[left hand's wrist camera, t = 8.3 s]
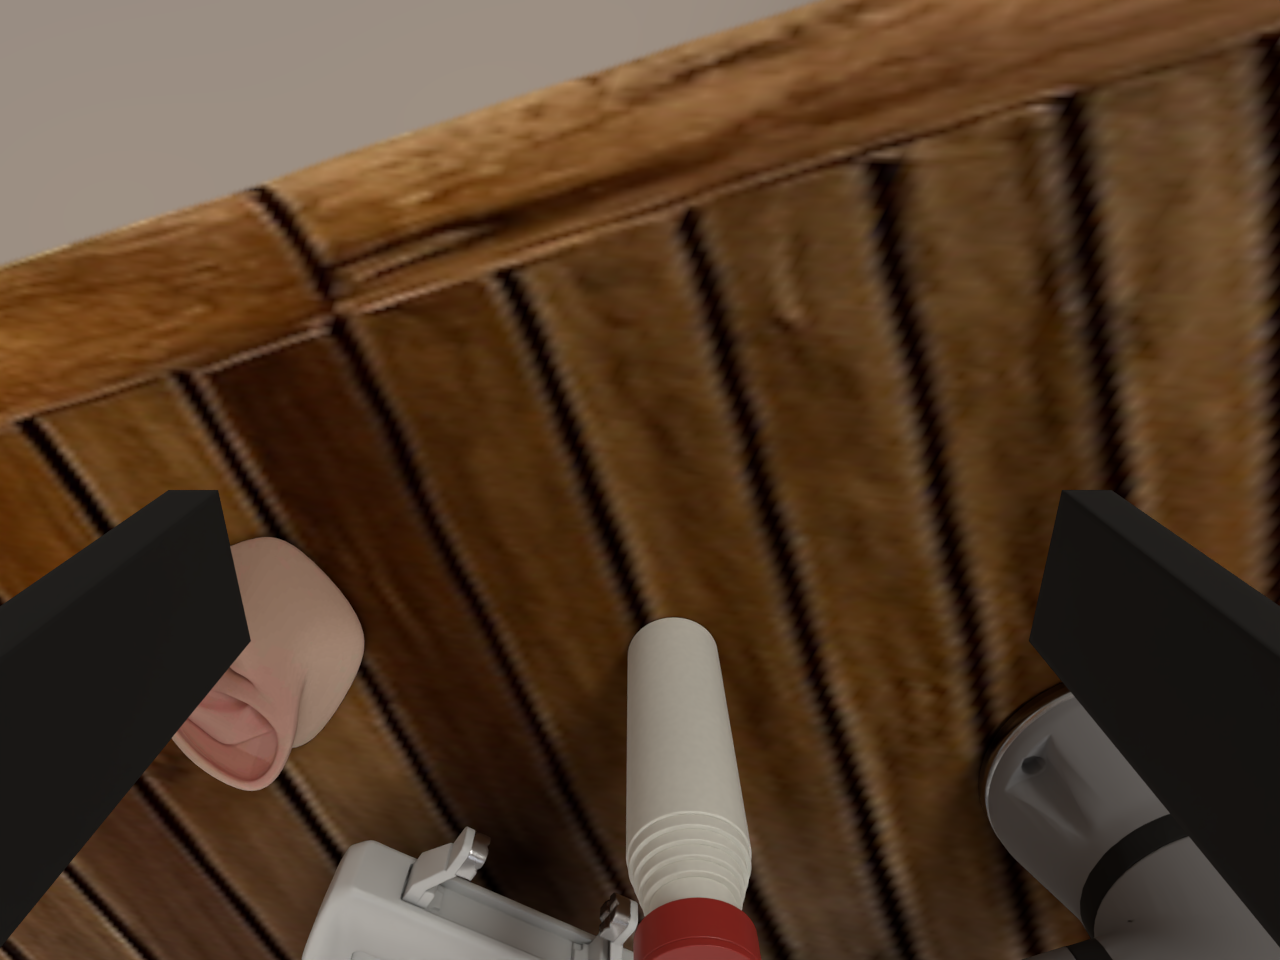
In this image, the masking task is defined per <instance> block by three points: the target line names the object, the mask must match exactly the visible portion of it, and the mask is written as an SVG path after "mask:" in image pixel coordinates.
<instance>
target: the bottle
mask: <svg viewBox="0 0 1280 960" xmlns="http://www.w3.org/2000/svg"><path fill="white" fill-rule="evenodd" d="M751 857H752V854H751V845H750V839H749V833H748V828H747V822H746V816H745V810H744V804H743V798H742V792H741V786H740V780H739V774H738V769H737V763H736V757H735V751H734V745H733V739H732V733H731V727H730V721H729V716H728V710H727V704H726V698H725V692H724V686H723V680H722V674H721V668H720V662H719V657H718V651H717V646H716V643H715V641H714V639H713V637H712V636H711V634H710V633H709V632H708V631H707V630H706V629H705V628H704V627H702V626H701V625H700V624H698V623H696V622H694V621H691V620H688V619H684V618H675V617H672V618H663V619H659V620H656V621H654V622H651V623H649V624H648V625H646V626H644V627H643V628H642V629H641V630H640V631H639V632H638V633H637V634H636V635H635V636H634V638H633V639H632V641H631V643H630V646H629V650H628V689H627V805H626V862H627V867H628V872H629V878H630V882H631V884H632V886H633V888H634V891H635V894H636V896H637V898H638V900H639V903H640V905H641V907H642V909H643V912H644V916H645V917H646V916H647V915H648V914H649V913H650V912H651V911H653V910H654V909H656V908H658V907H660V906H662V905H664V904H666V903H669V902H672V901H675V900H679V899H685V898H695V897H700V898H711V899H717V900H721V901H724V902H727V903H729V904H731V905H734V906H736V907H737V908H739V909H740V910H742V906H743V901H744V898H745V893H746V889H747V886H748V880H749V877H750V874H751Z"/></svg>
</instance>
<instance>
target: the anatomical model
mask: <svg viewBox="0 0 1280 960" xmlns="http://www.w3.org/2000/svg"><path fill="white" fill-rule="evenodd" d="M230 548H231V552H232V557H233V561H234V566H235V570H236V575H237V579H238V584H239V589H240V593H241V598H242V602H243V607H244V611H245V616H246V621H247V625H248V630H249V634H250V639H251V642H250V643H249V644H248V645H247V646H246V648H245V649H244V650H243V651H242V653H241V654H240V655H239V656H238V657H237V659H236V660H235V661H234V662H233V664H232V665H231V666H230V667H229V668H228V670H227V671H226V672H225V673H224V675H223V676H222V677H221V678H220V679H219V681H218V682H217V683H216V684H215V686H214V687H213V688H212V689H211V691H210V692H209V693H208V694H207V695H206V697H205V698H204V699H203V700H202V702H201V703H200V704H199V705H198V706H197V708H196V709H195V710H194V711H193V713H192V714H191V715H190V716H189V717H188V719H187V720H186V721H185V722H184V724H183V725H182V726H181V727H180V728H179V730H178V731H177V732H176V733H175V735H174V736H173V737H172V739H173V741H174V742H175V743H176V744H177V745H178V747H179V748H180V749H181V750H182V751H183V752H184V753H185V755H186V756H187V757H188V758H189V759H191V760H192V761H193V762H194V763H195V764H196V765H197V766H199V767H200V768H201V769H203V770H204V771H205V772H207V773H208V774H210V775H211V776H213V777H215V778H216V779H218V780H220V781H222V782H224V783H226V784H228V785H230V786H233V787H235V788H238V789H242V790H248V791H255V790H260V789H263V788H265V787H266V786H268V785H269V784H271V783H272V782H273V781H274V780H275V779H276V778H277V776H278V775H279V774H280V772H281V771H282V769H283V767H284V765H285V764H286V762H287V759H288V757H289V755H290V752H291V749H292V748H294V747H298V746H301V745H303V744H305V743H307V742H309V741H310V740H311V739H313V738H314V737H315V736H316V735H317V734H318V733H319V732H320V731H321V730H322V729H323V727H324V726H325V725H326V724H327V722H328V721H329V720H330V718H331V717H332V716H333V714H334V713H335V711H336V710H337V708H338V707H339V705H340V703H341V702H342V700H343V699H344V697H345V695H346V693H347V691H348V690H349V688H350V686H351V684H352V682H353V680H354V678H355V676H356V674H357V671H358V669H359V666H360V664H361V661H362V657H363V653H364V634H363V630H362V627H361V624H360V622H359V620H358V617H357V615H356V613H355V612H354V610H353V608H352V607H351V605H350V603H349V602H348V600H347V599H346V598H345V596H344V595H343V594H342V592H341V591H340V590H339V589H338V587H337V586H336V585H335V584H334V583H333V582H332V581H331V580H330V578H329V577H328V576H327V575H326V574H325V573H324V572H323V571H322V570H321V569H320V568H319V567H318V566H317V565H316V564H315V563H314V562H313V561H312V560H311V559H309V558H308V557H307V556H306V555H305V554H304V553H302V552H301V551H300V550H299V549H297V548H296V547H294V546H293V545H291V544H289V543H288V542H286V541H283V540H281V539H278V538H273V537H260V538H254V539H250V540H247V541H243V542H240V543H237V544H235V545H232V546H230Z"/></svg>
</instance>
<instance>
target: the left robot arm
mask: <svg viewBox="0 0 1280 960" xmlns="http://www.w3.org/2000/svg"><path fill="white" fill-rule="evenodd" d="M250 642H251V639H250V634H249V630H248V625H247V621H246V616H245V611H244V607H243V602H242V598H241V593H240V589H239V584H238V579H237V575H236V570H235V566H234V561H233V557H232V552H231V548H230V543H229V538H228V534H227V529H226V525H225V520H224V516H223V511H222V506H221V502H220V497H219V493H218V490H168V491H167V492H165V493H164V494H162V495H161V496H160V497H158V498H157V499H155V500H154V501H152V502H151V503H149V504H148V505H147V506H145V507H144V508H142V509H141V510H139V511H138V512H136V513H135V514H133V515H132V516H131V517H129V518H128V519H126V520H125V521H123V522H122V523H120V524H119V525H118V526H116V527H115V528H113V529H112V530H110V531H109V532H107V533H106V534H104V535H103V536H102V537H100V538H99V539H97V540H96V541H94V542H93V543H91V544H90V545H89V546H87V547H86V548H84V549H83V550H81V551H80V552H78V553H77V554H75V555H74V556H73V557H71V558H70V559H68V560H67V561H65V562H64V563H62V564H61V565H60V566H58V567H57V568H55V569H54V570H52V571H51V572H49V573H48V574H46V575H45V576H44V577H42V578H41V579H39V580H38V581H36V582H35V583H33V584H32V585H31V586H29V587H28V588H26V589H25V590H23V591H22V592H20V593H19V594H17V595H16V596H15V597H13V598H12V599H10V600H9V601H7V602H6V603H4V604H3V605H2V606H0V947H1V946H2V945H3V944H4V942H5V941H6V940H7V939H8V938H9V936H10V935H11V934H12V933H13V931H14V930H15V929H16V928H17V927H18V925H19V924H20V923H21V922H22V920H23V919H24V918H25V917H26V916H27V914H28V913H29V912H30V911H31V909H32V908H33V907H34V906H35V905H36V903H37V902H38V901H39V900H40V898H41V897H42V896H43V895H44V894H45V892H46V891H47V890H48V889H49V887H50V886H51V885H52V884H53V883H54V881H55V880H56V879H57V878H58V876H59V875H60V874H61V873H62V872H63V870H64V869H65V868H66V867H67V865H68V864H69V863H70V862H71V861H72V859H73V858H74V857H75V856H76V854H77V853H78V852H79V851H80V850H81V848H82V847H83V846H84V845H85V843H86V842H87V841H88V840H89V838H90V837H91V836H92V835H93V834H94V832H95V831H96V830H97V829H98V827H99V826H100V825H101V824H102V823H103V821H104V820H105V819H106V818H107V816H108V815H109V814H110V813H111V812H112V810H113V809H114V808H115V807H116V805H117V804H118V803H119V802H120V801H121V799H122V798H123V797H124V796H125V794H126V793H127V792H128V791H129V790H130V788H131V787H132V786H133V785H134V783H135V782H136V781H137V780H138V779H139V777H140V776H141V775H142V774H143V772H144V771H145V770H146V769H147V768H148V766H149V765H150V764H151V763H152V761H153V760H154V759H155V758H156V757H157V755H158V754H159V753H160V752H161V750H162V749H163V748H164V747H165V746H166V744H167V743H168V742H169V741H170V739H171V738H172V737H173V736H174V735H175V733H176V732H177V731H178V730H179V728H180V727H181V726H182V725H183V724H184V722H185V721H186V720H187V719H188V717H189V716H190V715H191V714H192V713H193V711H194V710H195V709H196V708H197V706H198V705H199V704H200V703H201V702H202V700H203V699H204V698H205V697H206V695H207V694H208V693H209V692H210V691H211V689H212V688H213V687H214V686H215V684H216V683H217V682H218V681H219V679H220V678H221V677H222V676H223V675H224V673H225V672H226V671H227V670H228V668H229V667H230V666H231V665H232V664H233V662H234V661H235V660H236V659H237V657H238V656H239V655H240V654H241V653H242V651H243V650H244V649H245V648H246V646H247V645H248V644H249V643H250ZM1029 642H1030V643H1031V644H1032V645H1033V646H1034V648H1035V649H1036V650H1037V651H1038V653H1039V654H1040V655H1041V656H1042V657H1043V659H1044V660H1045V661H1046V662H1047V664H1048V665H1049V666H1050V667H1051V668H1052V670H1053V671H1054V672H1055V673H1056V675H1057V676H1058V677H1059V678H1060V679H1061V681H1062V682H1063V683H1061V684H1058V685H1056V686H1055V687H1053V688H1051V689H1049V690H1047V691H1045V692H1043V693H1042V694H1040V695H1039V696H1037V697H1035V698H1034V699H1033V700H1031V701H1030V702H1028V703H1027V704H1026V705H1024V706H1023V707H1022V708H1021V709H1020V710H1018V711H1017V712H1016V713H1015V714H1014V715H1013V716H1012V717H1011V718H1010V719H1009V720H1008V721H1007V722H1006V723H1005V724H1004V726H1003V727H1002V728H1001V729H1000V730H999V732H998V733H997V735H996V736H995V738H994V739H993V741H992V742H991V744H990V746H989V748H988V750H987V752H986V754H985V756H984V759H983V762H982V765H981V769H980V775H979V797H980V801H981V805H982V808H983V810H984V813H985V815H986V817H987V818H988V820H989V822H990V824H991V826H992V828H993V830H994V832H995V834H996V835H997V837H998V838H999V840H1000V841H1001V842H1002V844H1003V845H1004V846H1005V848H1006V849H1007V850H1008V851H1009V853H1010V854H1011V855H1012V856H1013V857H1014V858H1015V859H1016V860H1017V861H1018V862H1019V863H1020V864H1021V865H1022V866H1023V867H1024V868H1025V869H1026V870H1027V871H1028V872H1029V873H1030V874H1032V875H1033V876H1034V877H1035V878H1036V879H1037V880H1038V881H1039V882H1040V883H1041V884H1042V885H1043V886H1044V887H1045V888H1046V889H1048V890H1049V891H1050V892H1051V893H1052V894H1053V895H1054V896H1055V897H1056V898H1057V899H1058V900H1059V901H1060V902H1061V903H1062V904H1064V905H1065V906H1066V907H1067V908H1068V909H1069V910H1070V911H1071V912H1072V913H1073V914H1074V915H1075V916H1076V917H1077V918H1078V919H1079V920H1080V921H1081V922H1082V924H1083V926H1084V927H1085V929H1086V931H1087V932H1088V934H1089V936H1090V937H1091V939H1089V940H1086V941H1083V942H1079V943H1076V944H1073V945H1070V946H1066V947H1061V948H1058V949H1055V950H1052V951H1048V952H1045V953H1042V954H1039V955H1036V956H1032V957H1029V958H1026V959H1023V960H1280V606H1278V605H1277V604H1276V603H1274V602H1273V601H1271V600H1270V599H1268V598H1267V597H1265V596H1264V595H1263V594H1261V593H1260V592H1258V591H1257V590H1255V589H1254V588H1252V587H1251V586H1249V585H1248V584H1247V583H1245V582H1244V581H1242V580H1241V579H1239V578H1238V577H1236V576H1235V575H1234V574H1232V573H1231V572H1229V571H1228V570H1226V569H1225V568H1223V567H1222V566H1220V565H1219V564H1218V563H1216V562H1215V561H1213V560H1212V559H1210V558H1209V557H1207V556H1206V555H1205V554H1203V553H1202V552H1200V551H1199V550H1197V549H1196V548H1194V547H1193V546H1191V545H1190V544H1189V543H1187V542H1186V541H1184V540H1183V539H1181V538H1180V537H1178V536H1177V535H1176V534H1174V533H1173V532H1171V531H1170V530H1168V529H1167V528H1165V527H1164V526H1162V525H1161V524H1160V523H1158V522H1157V521H1155V520H1154V519H1152V518H1151V517H1149V516H1148V515H1147V514H1145V513H1144V512H1142V511H1141V510H1139V509H1138V508H1136V507H1135V506H1133V505H1132V504H1131V503H1129V502H1128V501H1126V500H1125V499H1123V498H1122V497H1120V496H1119V495H1118V494H1116V493H1115V492H1113V491H1112V490H1062V493H1061V497H1060V502H1059V506H1058V511H1057V516H1056V520H1055V525H1054V529H1053V534H1052V538H1051V543H1050V548H1049V552H1048V557H1047V561H1046V566H1045V570H1044V575H1043V579H1042V584H1041V589H1040V593H1039V598H1038V602H1037V607H1036V611H1035V616H1034V621H1033V625H1032V630H1031V634H1030V639H1029Z"/></svg>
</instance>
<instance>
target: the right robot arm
mask: <svg viewBox="0 0 1280 960" xmlns="http://www.w3.org/2000/svg"><path fill="white" fill-rule="evenodd" d="M490 841H491V837H489V836H487V835H485V834H483V833H480V832H478V831H476V830H474V829H472V828H470V827H468V826H467V827H465V829H464V830H463V831H462V833H461V834H460V835H459V837H458V838H457V839H456V841H455V842H454V843H449V844H446V845H443V846H440V847H437V848H434V849H431V850H428V851H425V852H422V854H421V855H420V856H419V858H418V859H416V858H414V857H411V856H409V855H407V854H404V853H402V852H400V851H397V850H395V849H393V848H390V847H388V846H386V845H384V844H381V843H379V842H377V841H374V840H369V841H364V842H360V843H357V844H353V845H351V846H350V847H349V848H348V850H347V851H346V853H345V854H344V856H343V858H342V860H341V861H340V863H339V865H338V867H337V870H336V872H335V874H334V876H333V879H332V881H331V883H330V886H329V888H328V890H327V892H326V895H325V897H324V900H323V902H322V904H321V907H320V909H319V912H318V914H317V917H316V920H315V922H314V925H313V927H312V930H311V932H310V935H309V938H308V940H307V943H306V946H305V949H304V952H303V955H302V960H634V952H632V951H630V950H628V949H625V948H623V943H624V942H625V941H626V940H627V939H628V937H629V936H630V935H631V934H632V933H633V932H634V931H635V929H636V926H637V924H638V904H637V902H636V901H633V900H631V899H629V898H626V897H624V896H622V895H619V894H617V893H613V894H612V895H611V896H610V900H608V901H606V902H605V903H604V904H603V905H602V907H601V908H600V919H601V921H602V923H601V924H600V928H599V934H598V935H597V936H595V935H593V934H591V933H588V932H586V931H584V930H581V929H579V928H577V927H574V926H572V925H570V924H567V923H565V922H563V921H560V920H558V919H556V918H553V917H551V916H549V915H546V914H544V913H542V912H539V911H537V910H535V909H532V908H530V907H528V906H525V905H523V904H521V903H518V902H516V901H514V900H511V899H509V898H507V897H504V896H502V895H500V894H497V893H495V892H493V891H490V890H488V889H486V888H483V887H481V886H479V885H476V884H474V883H472V882H469V881H467V880H470V881H471V880H472V879H473V877H474V876H475V875H476V874H477V869H480V868H481V867H482V866H483V864H484V862H485V860H486V858H487V855H488V851H489V850H488V845H489V844H490ZM458 876H460V877H462V878H465V879H467V880H465V879H462V878H460V877H458Z"/></svg>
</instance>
